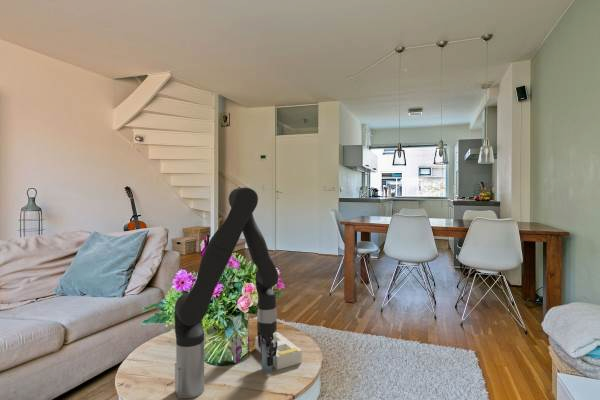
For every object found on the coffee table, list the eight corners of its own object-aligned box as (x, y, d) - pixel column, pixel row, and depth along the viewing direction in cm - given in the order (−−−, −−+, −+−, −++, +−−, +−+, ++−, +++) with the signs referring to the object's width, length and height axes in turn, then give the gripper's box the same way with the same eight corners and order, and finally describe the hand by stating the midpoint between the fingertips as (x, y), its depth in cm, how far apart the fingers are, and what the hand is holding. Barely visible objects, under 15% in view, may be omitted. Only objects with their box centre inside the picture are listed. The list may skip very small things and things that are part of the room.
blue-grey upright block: (264, 373, 128) (264, 347, 128) (260, 368, 132) (260, 343, 132) (273, 370, 130) (273, 344, 130) (269, 366, 134) (269, 341, 134)
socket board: (277, 369, 131) (277, 356, 131) (255, 348, 150) (255, 336, 150) (301, 362, 137) (301, 349, 137) (277, 342, 156) (277, 331, 156)
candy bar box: (239, 350, 148) (239, 313, 148) (249, 352, 146) (249, 314, 146) (225, 362, 137) (225, 321, 137) (236, 364, 136) (236, 323, 136)
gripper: (250, 315, 135) (251, 357, 135) (265, 326, 123) (265, 373, 123) (268, 311, 139) (268, 353, 139) (284, 322, 127) (284, 368, 127)
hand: (267, 362), depth 131 cm, fingers open, 5 cm apart
